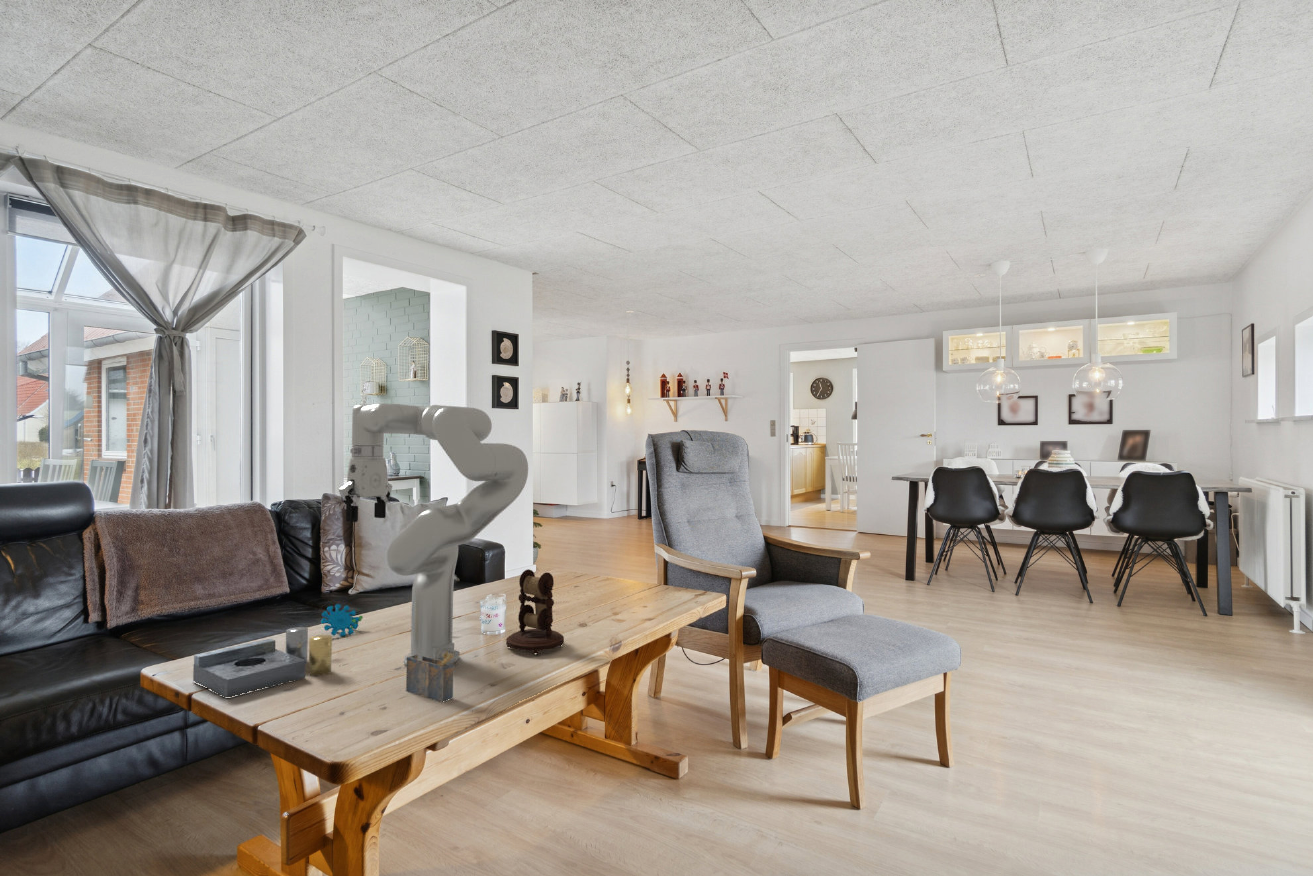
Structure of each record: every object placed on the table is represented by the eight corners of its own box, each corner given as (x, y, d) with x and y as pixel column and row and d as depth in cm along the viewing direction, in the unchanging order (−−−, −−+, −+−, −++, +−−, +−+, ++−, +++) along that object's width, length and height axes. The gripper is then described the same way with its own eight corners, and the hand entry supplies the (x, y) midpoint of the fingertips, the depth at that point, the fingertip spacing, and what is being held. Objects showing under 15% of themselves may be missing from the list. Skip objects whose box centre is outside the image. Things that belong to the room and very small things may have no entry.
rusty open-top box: (454, 699, 143) (455, 653, 143) (442, 704, 140) (443, 656, 140) (417, 689, 149) (418, 644, 149) (406, 693, 146) (407, 647, 146)
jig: (304, 678, 153) (305, 651, 153) (227, 699, 140) (227, 669, 140) (269, 663, 162) (270, 638, 162) (193, 682, 149) (193, 655, 149)
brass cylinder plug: (335, 672, 157) (335, 637, 157) (315, 677, 153) (316, 641, 154) (324, 668, 160) (325, 633, 160) (304, 673, 156) (305, 638, 156)
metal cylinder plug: (311, 663, 163) (311, 629, 163) (291, 668, 159) (292, 633, 160) (300, 659, 166) (301, 626, 166) (281, 664, 162) (282, 630, 162)
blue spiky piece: (324, 634, 181) (320, 602, 187) (316, 647, 184) (312, 615, 190) (366, 633, 189) (361, 602, 195) (358, 645, 191) (353, 614, 197)
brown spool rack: (575, 646, 180) (576, 570, 180) (535, 660, 168) (537, 578, 168) (534, 636, 188) (535, 564, 188) (493, 649, 176) (495, 571, 176)
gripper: (353, 453, 166) (352, 524, 166) (402, 452, 182) (401, 517, 182) (329, 452, 169) (328, 522, 169) (380, 452, 185) (378, 515, 185)
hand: (366, 519), depth 175 cm, fingers open, 9 cm apart
